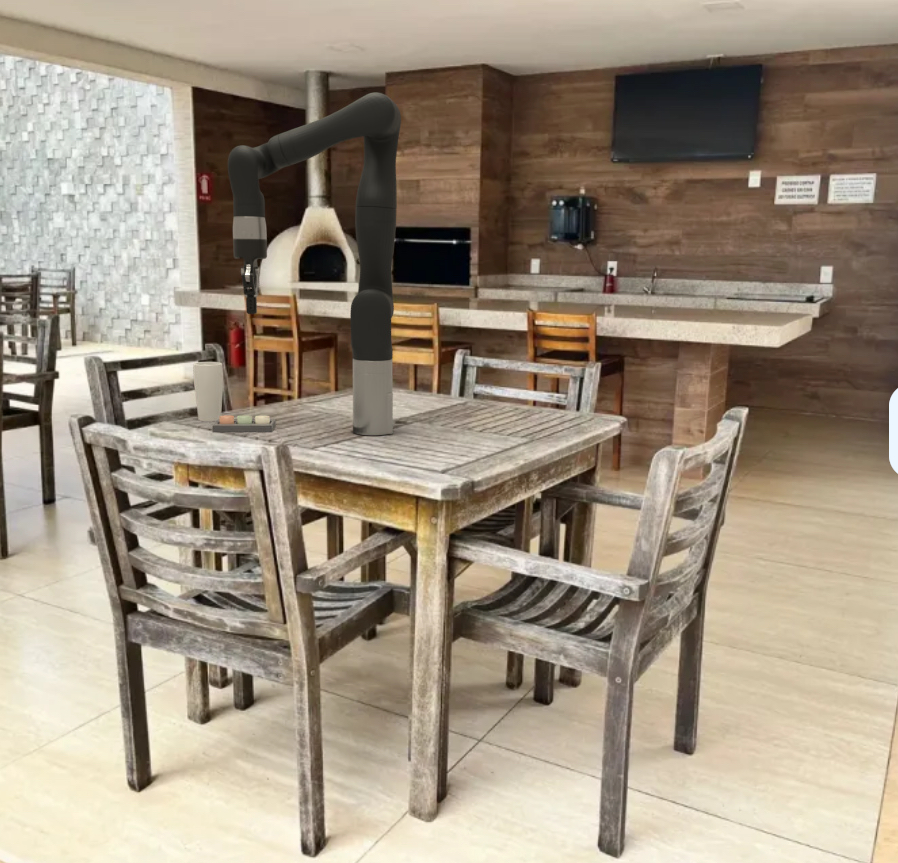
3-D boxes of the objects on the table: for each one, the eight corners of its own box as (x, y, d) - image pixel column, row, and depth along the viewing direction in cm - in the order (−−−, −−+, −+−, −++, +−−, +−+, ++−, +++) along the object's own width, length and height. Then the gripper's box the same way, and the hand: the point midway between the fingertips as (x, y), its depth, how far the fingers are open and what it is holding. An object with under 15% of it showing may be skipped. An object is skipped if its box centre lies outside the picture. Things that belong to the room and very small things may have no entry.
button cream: (270, 432, 205) (270, 415, 205) (269, 435, 202) (268, 417, 202) (256, 432, 205) (256, 415, 204) (254, 435, 202) (254, 417, 201)
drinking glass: (195, 428, 211) (193, 365, 208) (195, 423, 217) (193, 361, 214) (224, 427, 212) (222, 364, 210) (224, 422, 219) (222, 361, 216)
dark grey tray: (275, 431, 208) (275, 419, 207) (272, 438, 200) (271, 425, 200) (218, 432, 207) (218, 419, 206) (212, 438, 199) (212, 425, 198)
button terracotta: (235, 432, 205) (234, 415, 204) (233, 435, 202) (232, 417, 201) (221, 432, 204) (220, 415, 204) (218, 435, 201) (218, 417, 201)
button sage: (253, 432, 205) (252, 415, 204) (251, 435, 202) (250, 417, 201) (238, 432, 205) (238, 415, 204) (236, 435, 202) (236, 417, 201)
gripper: (263, 237, 198) (264, 315, 202) (269, 238, 211) (271, 312, 215) (228, 236, 198) (231, 315, 201) (237, 238, 211) (239, 312, 214)
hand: (251, 313), depth 208 cm, fingers closed
